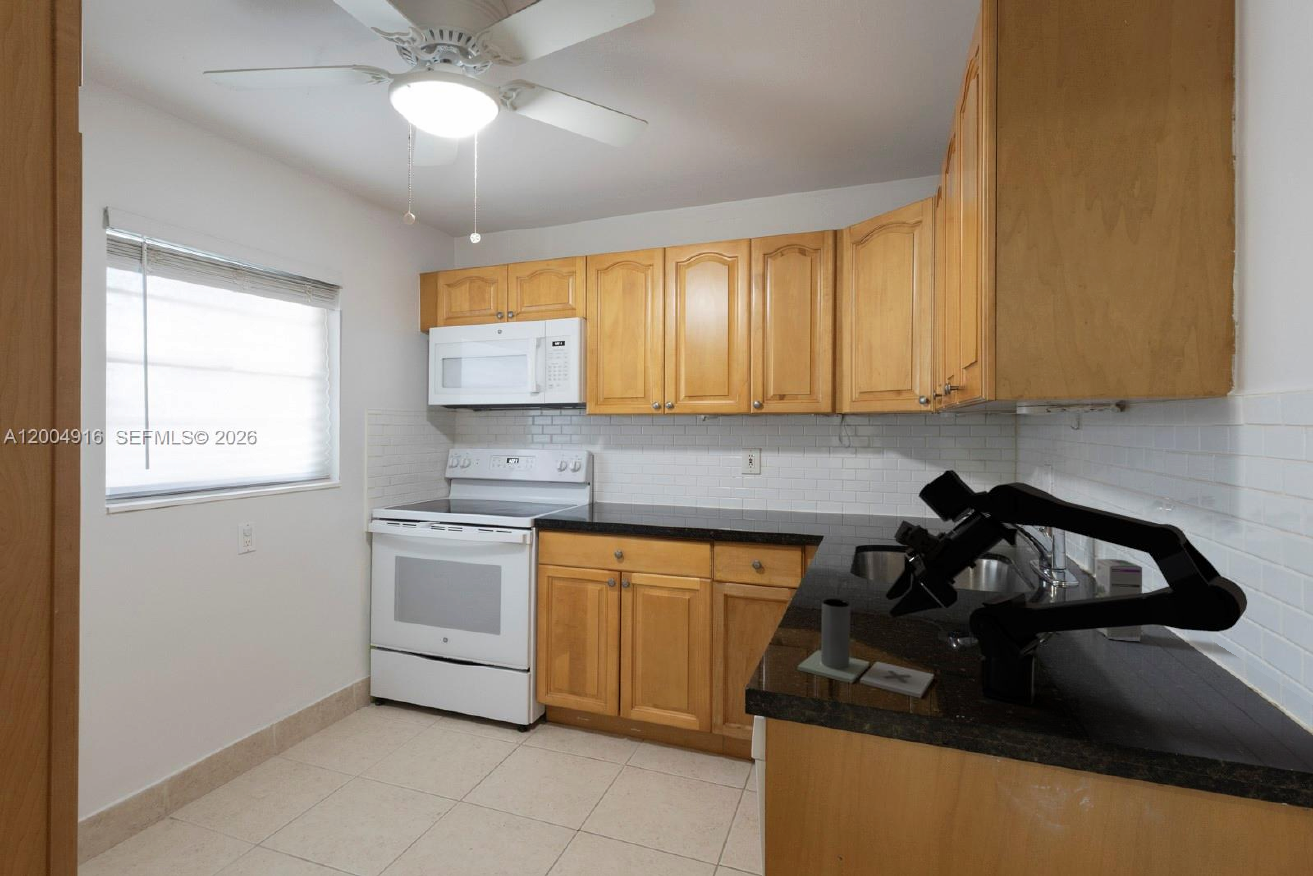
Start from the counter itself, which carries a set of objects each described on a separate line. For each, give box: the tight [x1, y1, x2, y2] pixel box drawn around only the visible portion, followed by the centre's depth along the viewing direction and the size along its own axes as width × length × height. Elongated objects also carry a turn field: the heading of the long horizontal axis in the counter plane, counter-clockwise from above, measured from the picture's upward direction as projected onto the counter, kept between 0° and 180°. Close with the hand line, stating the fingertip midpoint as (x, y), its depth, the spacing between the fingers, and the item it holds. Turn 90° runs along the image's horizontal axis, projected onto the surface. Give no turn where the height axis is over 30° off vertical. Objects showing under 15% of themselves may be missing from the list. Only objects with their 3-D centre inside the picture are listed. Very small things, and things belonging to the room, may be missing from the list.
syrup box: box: [1095, 558, 1143, 638], centre depth 122 cm, size 6×6×14 cm
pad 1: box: [797, 649, 870, 684], centre depth 105 cm, size 9×9×1 cm
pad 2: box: [859, 661, 935, 699], centre depth 100 cm, size 9×9×1 cm
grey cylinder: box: [820, 598, 851, 669], centre depth 105 cm, size 4×4×10 cm
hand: (889, 606), depth 103 cm, fingers open, 9 cm apart
